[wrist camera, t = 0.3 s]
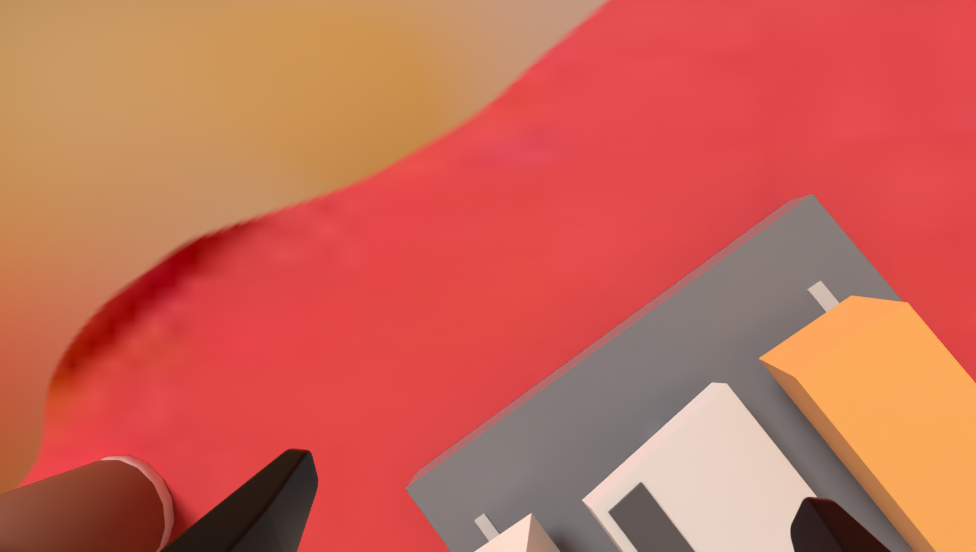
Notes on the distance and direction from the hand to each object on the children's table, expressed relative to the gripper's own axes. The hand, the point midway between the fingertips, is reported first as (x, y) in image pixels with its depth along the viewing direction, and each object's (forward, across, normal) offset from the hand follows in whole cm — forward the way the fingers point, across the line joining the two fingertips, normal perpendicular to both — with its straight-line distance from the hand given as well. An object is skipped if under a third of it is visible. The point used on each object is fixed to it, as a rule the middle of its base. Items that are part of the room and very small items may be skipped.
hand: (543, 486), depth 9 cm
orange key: (+8, -13, +6) cm, 17 cm away
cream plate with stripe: (+6, -8, +10) cm, 14 cm away
